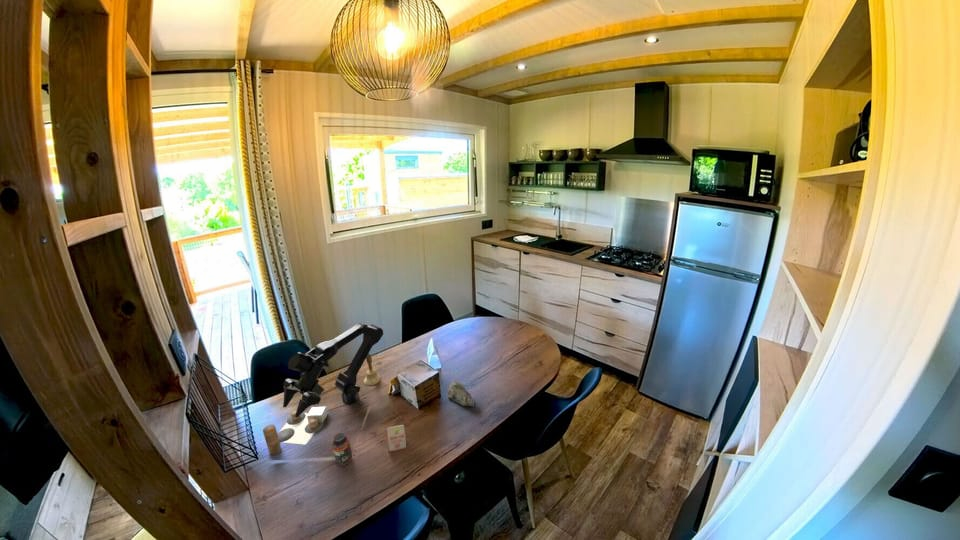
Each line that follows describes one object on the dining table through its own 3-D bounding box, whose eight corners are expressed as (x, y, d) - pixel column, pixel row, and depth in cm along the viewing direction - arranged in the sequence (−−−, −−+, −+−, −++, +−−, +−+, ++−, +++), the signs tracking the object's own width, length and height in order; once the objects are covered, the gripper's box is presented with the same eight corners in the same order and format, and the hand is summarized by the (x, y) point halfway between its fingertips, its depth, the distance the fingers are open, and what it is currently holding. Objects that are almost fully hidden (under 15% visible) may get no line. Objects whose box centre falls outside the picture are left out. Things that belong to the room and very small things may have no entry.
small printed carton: (388, 444, 131) (385, 424, 128) (405, 440, 133) (403, 421, 130) (388, 452, 128) (385, 432, 125) (406, 448, 130) (404, 428, 126)
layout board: (331, 416, 146) (330, 409, 144) (309, 447, 130) (307, 439, 129) (294, 413, 148) (292, 406, 146) (268, 443, 132) (266, 435, 131)
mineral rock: (475, 409, 149) (475, 391, 146) (452, 414, 146) (451, 396, 143) (468, 391, 161) (467, 373, 158) (446, 395, 158) (445, 378, 155)
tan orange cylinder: (284, 449, 130) (277, 425, 126) (277, 457, 126) (270, 433, 122) (274, 448, 130) (268, 424, 126) (267, 456, 126) (260, 432, 122)
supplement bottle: (346, 450, 129) (342, 427, 125) (355, 457, 126) (351, 434, 122) (332, 461, 124) (327, 438, 121) (341, 469, 121) (337, 445, 117)
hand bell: (377, 385, 165) (374, 358, 160) (361, 385, 165) (357, 358, 160) (382, 375, 173) (379, 348, 168) (367, 375, 173) (363, 348, 168)
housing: (327, 413, 146) (325, 406, 145) (323, 422, 141) (321, 415, 140) (313, 414, 146) (311, 407, 144) (308, 423, 141) (306, 415, 140)
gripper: (339, 386, 136) (319, 424, 132) (314, 369, 146) (295, 404, 142) (317, 381, 127) (295, 422, 123) (293, 364, 138) (271, 401, 133)
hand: (290, 412), depth 131 cm, fingers open, 9 cm apart
